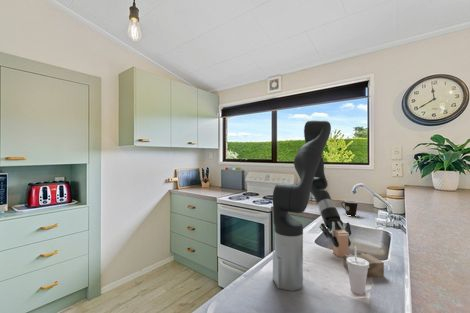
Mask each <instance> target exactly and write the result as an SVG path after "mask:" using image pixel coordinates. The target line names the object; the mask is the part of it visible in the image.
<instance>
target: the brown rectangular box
mask: <svg viewBox="0 0 470 313" xmlns="http://www.w3.org/2000/svg"><path fill="white" fill-rule="evenodd" d="M348 257H355V252H354V253H348V254H344V256H343V268H345V269H346V270H347V271H348V264H347V262H346V261H347V258H348ZM357 257H359V258H362V259H365V260H366V261H368V262H369V268H368V272H367V278H374V277H375V278H376V277H384V276H385V274H384V273H385V262H383V261H382V260H380V259H379V258H376V257H375V256H374V255H372V254H370V253H368V252H363V253H361V252H359V253H357Z"/></svg>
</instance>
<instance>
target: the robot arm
mask: <svg viewBox="0 0 470 313" xmlns="http://www.w3.org/2000/svg"><path fill="white" fill-rule="evenodd" d="M331 131H332V125H331V123H330V122H329V121H327V120H321V119H320V120H318V119H316V120H315V119H311V120H306V122H305V124H304V128H303V137H304V142H305V144H303V145H302V146H300V148H299V149H298V150H297V153H296V154H295V157H294V160H293V167H294V169H295V171H296V173H297V174H298V176H299V179H300V181H299V183H298V184H290V183H277V184H275V186H274V188H273V192H272V209H273V210H272V212H273V213H272V214H273V224H274V251H273V252H272V280H273V282H274V283H275V286H276V288H277V289H279V290H280V289H282V290H285V291H298V290H301V289H302V288H303V286H304V284H303V283H304V274H303V273H304V267H303V266H304V262H303V261H304V257H303V256H304V250H303V249H304V226H303V224H302V223H301V222H300V221H298V220H297V219H295V218H293V217H292V216H291V215H290V214H289V213H295V214H302V213H304V212H305V211H306V209H307V207H308V204H309V200H310V196H311V195H312V196H313V197H314V199H315V202H316V204H317V206H318V210H319V213H320V216H321V218H322V220H323V222H324V223H323V222H322V223H320V225H319V226H318V227H319V228H320V230H321V231H322V232H321V233H323V234H324V236H325V237H326V239H331V241H332V245H333V244H334V246H335V247H338V246H339V243H338V241H337V238H336V237H335V233H334V230H344V231H346V232H348V234H349V235H348V248H349V247H351V244H352V242H351V240H350V238H349V237H350V236H351V235H352V230H351V224H350V222H343V220H342V219H341V216H340V213H339V212H338V210H337V207H336V205H335V203H334V202H333V200H332V197H331V196H330V193H329V192H328V191H327V190H325V189H327V188H328V186H329V184H328V180H327V177H326V174H325V161H324V158H323V156H322V155H323V151H324V150H325V146H326V145H327V142H328V140H329V138H330V135H331Z"/></svg>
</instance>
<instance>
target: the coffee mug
mask: <svg viewBox="0 0 470 313" xmlns="http://www.w3.org/2000/svg"><path fill="white" fill-rule="evenodd" d="M358 202H359V201H357V200H356V201H355V200H344V201H342V202H341V204H340V205H341V207H342V208H343V209H344V210H345V215H346V214H347V215H351V216H355V215H356V216H357V210H358ZM343 203H344V206H343ZM347 215H346V216H347ZM351 216H350V217H351ZM356 216H355V217H356Z"/></svg>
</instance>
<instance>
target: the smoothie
mask: <svg viewBox="0 0 470 313" xmlns="http://www.w3.org/2000/svg"><path fill="white" fill-rule="evenodd" d="M357 251H358V250H357V246H354V254H355V257H348V258H347V261H346V262H347V264H348V270H347V271H348V278H349V286H350V291H351V292H353V293H354V294H356V295H364V294H365V290H366V283H367V278H368V277H367V272H368V268H369V262H368V261H366V260H365V259H362V258H359V257H357V254H358V253H357Z"/></svg>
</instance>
